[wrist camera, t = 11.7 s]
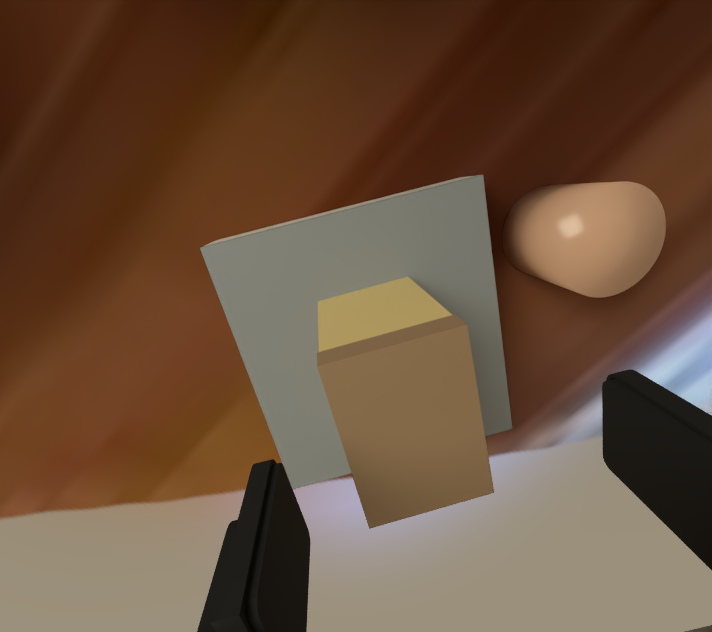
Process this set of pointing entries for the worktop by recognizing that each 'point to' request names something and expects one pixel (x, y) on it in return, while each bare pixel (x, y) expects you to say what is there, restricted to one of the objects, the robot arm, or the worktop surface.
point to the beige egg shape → (586, 235)
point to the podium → (345, 275)
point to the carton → (403, 400)
